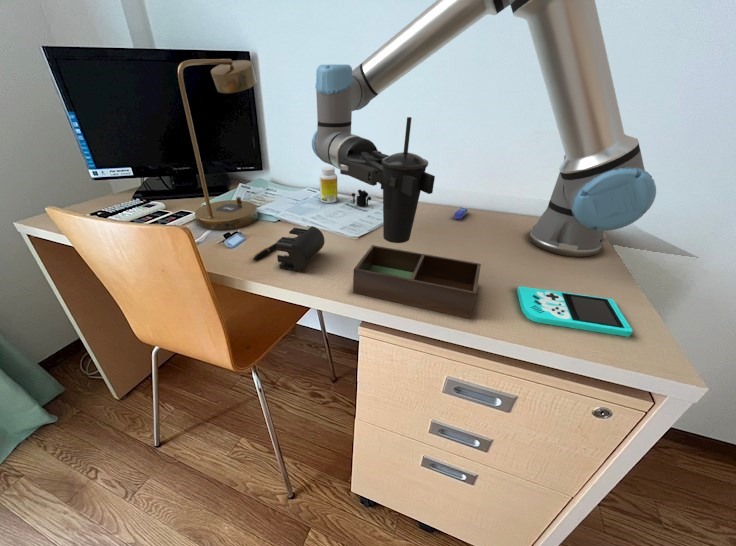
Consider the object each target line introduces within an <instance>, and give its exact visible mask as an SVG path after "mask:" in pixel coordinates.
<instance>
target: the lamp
mask: <svg viewBox="0 0 736 546" xmlns="http://www.w3.org/2000/svg"><path fill="white" fill-rule="evenodd" d="M203 65H204V66H206V65H207V66H208V65H216V66H214V67H213V68H212V69H211V70H210V74H211V78H212V80H213V83H214V85H215V89H216V91H217V92H218V93H220V94H234V93H240V92H242V91H243V92H244V91H246V90H248V89H251V88H253V86H255V85H256V84H257V82H258V81H257V76H256V72H255V69H254V66H253V62H252V61H251V60H247V59H237V60H232V58H211V59H210V58H199V59H197V58H196V59H187V60H184V61H181V62H180V63H179V64H178V66H177V79H178V86H179V90H180V95H181V99H182V103H183V108H184V112H185V117H186V121H187V126H188V130H189V135H190V138H191V139H190V140H191V143H192V148H193V152H194V157H195V160H196V165H197V170H198V174H199V178H200V183H201V188H202V192H203V197H204V201H205V204H204V205H202V206H200V207H198V208H197V209H196V210H195V212H194V216H195V217H194V218H195V222H196V224H197V225H198V227H200V228H203V229H206V230H212V231H228V230H235V229H240V228H243V227H246V226H248V225H250V224H253V223H254V222H255V221H256V220H257V219H258V208H257V206H256V204H255V203H253V202H250V201H247V200H242V197H241V196H237V197H235V198H236V199H226V200H220V201H219V200H218V201H213V202H210V197H209V191H208V187H207V183H206V179H205V178H206V177H205V174H204V168H203V164H202V161H201V160H202V159H201V156H200V151H199V146H198V142H197V141H198V140H197V137H196V132H195V127H194V123H193V119H192V114H191V109H190V105H189V100H188V97H187V92H186V86H185V81H184V70H185V68H187V67H190V66H191V67H192V66H203Z"/></svg>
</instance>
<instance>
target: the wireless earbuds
mask: <svg viewBox="0 0 736 546" xmlns="http://www.w3.org/2000/svg"><path fill="white" fill-rule="evenodd" d="M357 193H358V195H357V196H356V193H355V192H352V193H351V197H353V198H352V203H353V204H355V203H356V205H357V206H358V207H361V208H365V207H368V206H369V201H371V200H372V197H371V196H369V193H368V192H367V191H366V190H362V189H357ZM355 198H356V199H355ZM355 200H356V201H355Z"/></svg>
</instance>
